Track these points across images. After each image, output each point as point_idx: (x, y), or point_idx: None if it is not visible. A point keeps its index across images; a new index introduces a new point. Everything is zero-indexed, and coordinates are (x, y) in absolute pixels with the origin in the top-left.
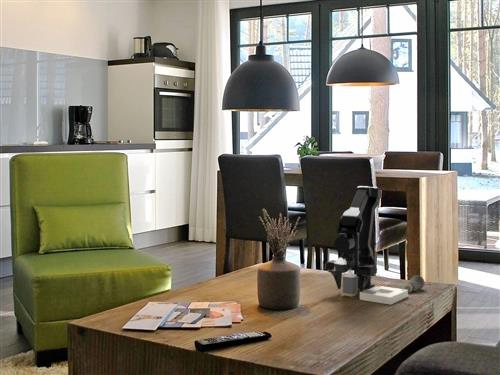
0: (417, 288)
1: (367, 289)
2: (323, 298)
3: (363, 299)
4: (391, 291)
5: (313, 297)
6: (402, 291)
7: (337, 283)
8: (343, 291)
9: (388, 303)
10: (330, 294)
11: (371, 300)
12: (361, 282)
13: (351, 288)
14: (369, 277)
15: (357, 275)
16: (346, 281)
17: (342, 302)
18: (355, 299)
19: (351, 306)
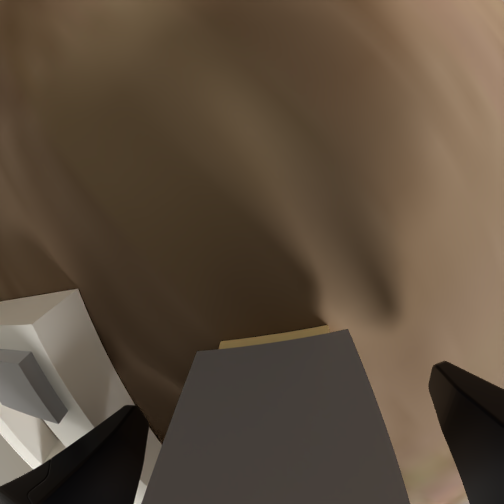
0: None
1: (49, 421)
2: (393, 17)
3: (47, 295)
4: None
5: (469, 13)
6: (28, 462)
7: (485, 396)
8: (341, 341)
9: None
10: (464, 236)
11: (5, 302)
12: (46, 479)
13: (195, 403)
14: None
15: None
16: (303, 496)
17: (104, 44)
18: (100, 262)
19: (4, 53)
